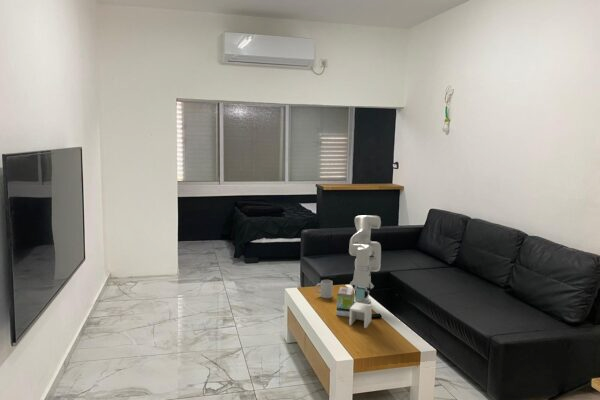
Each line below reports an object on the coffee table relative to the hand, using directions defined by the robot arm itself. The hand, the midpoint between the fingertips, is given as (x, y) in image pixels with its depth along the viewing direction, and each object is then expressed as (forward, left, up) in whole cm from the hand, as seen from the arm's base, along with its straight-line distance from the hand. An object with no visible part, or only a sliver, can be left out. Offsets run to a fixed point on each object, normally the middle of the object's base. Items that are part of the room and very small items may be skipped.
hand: (361, 296), depth 280 cm
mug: (-35, -37, -17) cm, 54 cm away
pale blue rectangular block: (-3, 0, -1) cm, 3 cm away
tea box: (-13, -14, -17) cm, 26 cm away
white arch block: (0, 0, -17) cm, 17 cm away
